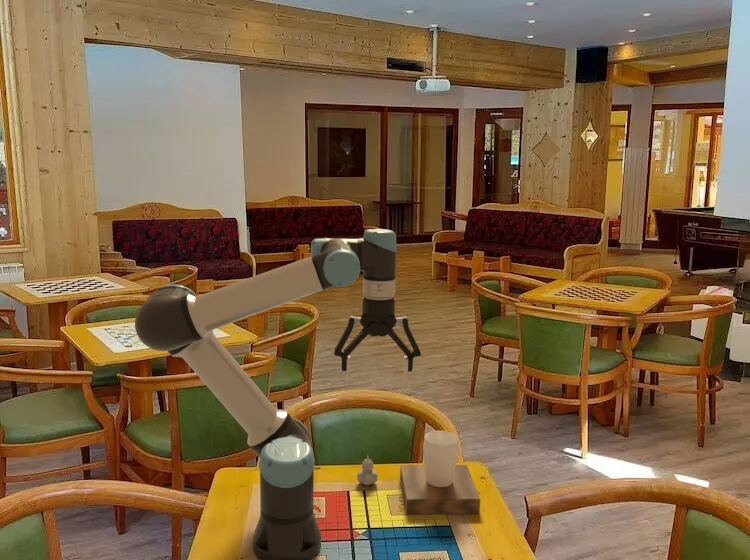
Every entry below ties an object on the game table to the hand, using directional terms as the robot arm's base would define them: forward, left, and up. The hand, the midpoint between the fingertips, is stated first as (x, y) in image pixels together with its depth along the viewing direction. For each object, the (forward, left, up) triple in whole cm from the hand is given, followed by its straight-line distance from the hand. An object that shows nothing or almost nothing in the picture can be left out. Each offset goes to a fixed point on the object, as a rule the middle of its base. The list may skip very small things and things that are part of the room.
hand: (376, 384), depth 161 cm
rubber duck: (-1, +13, -33) cm, 35 cm away
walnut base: (+17, +7, -33) cm, 38 cm away
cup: (+17, +7, -29) cm, 34 cm away
